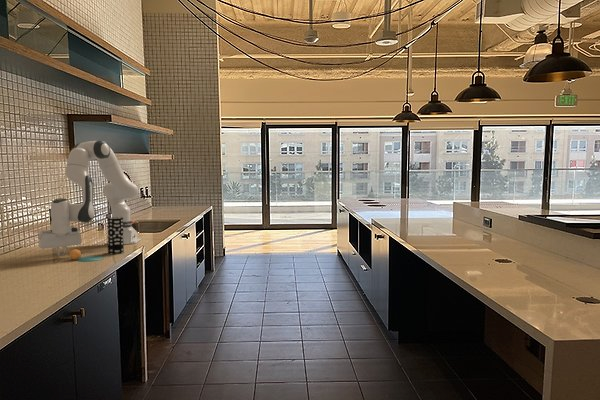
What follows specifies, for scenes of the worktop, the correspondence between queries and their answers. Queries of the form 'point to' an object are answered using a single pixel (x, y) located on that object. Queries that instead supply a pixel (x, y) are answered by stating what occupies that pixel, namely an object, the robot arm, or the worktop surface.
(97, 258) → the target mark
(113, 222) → the spotted tube
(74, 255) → the ball
